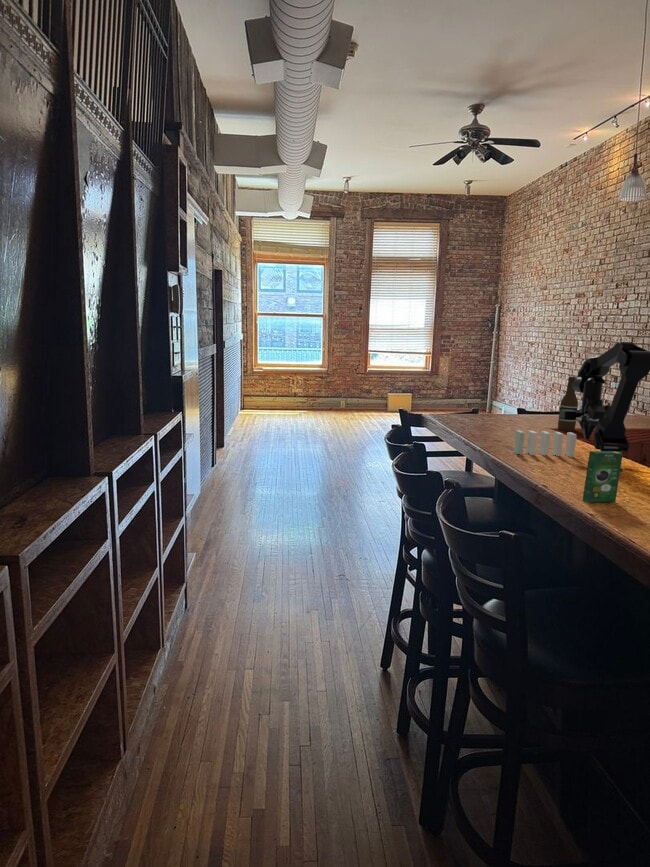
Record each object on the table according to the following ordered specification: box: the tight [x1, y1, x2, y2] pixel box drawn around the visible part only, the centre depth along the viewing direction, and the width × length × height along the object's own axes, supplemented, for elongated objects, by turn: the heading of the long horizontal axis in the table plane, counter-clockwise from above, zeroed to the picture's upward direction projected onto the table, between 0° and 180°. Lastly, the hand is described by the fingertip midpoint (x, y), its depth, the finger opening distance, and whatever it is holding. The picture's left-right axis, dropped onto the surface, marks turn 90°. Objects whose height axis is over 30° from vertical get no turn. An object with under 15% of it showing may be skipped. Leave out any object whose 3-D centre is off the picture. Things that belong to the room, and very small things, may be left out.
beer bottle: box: [557, 376, 579, 432], centre depth 246 cm, size 8×8×24 cm
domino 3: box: [538, 430, 551, 456], centre depth 193 cm, size 5×2×8 cm, turn 177°
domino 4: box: [551, 431, 564, 457], centre depth 193 cm, size 5×2×8 cm, turn 177°
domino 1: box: [513, 429, 525, 456], centre depth 193 cm, size 5×2×8 cm, turn 177°
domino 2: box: [525, 430, 538, 456], centre depth 193 cm, size 5×2×8 cm, turn 177°
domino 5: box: [564, 431, 577, 458], centre depth 192 cm, size 5×2×8 cm, turn 177°
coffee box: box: [582, 450, 623, 504], centre depth 139 cm, size 8×3×13 cm, turn 102°
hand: (586, 439), depth 192 cm, fingers closed
